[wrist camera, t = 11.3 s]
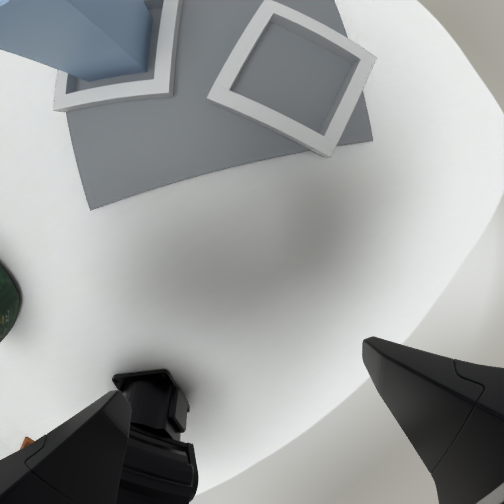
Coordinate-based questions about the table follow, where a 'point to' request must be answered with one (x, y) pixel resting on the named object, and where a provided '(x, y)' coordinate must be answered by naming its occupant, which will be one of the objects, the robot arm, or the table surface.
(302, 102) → the panel
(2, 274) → the coffee jar
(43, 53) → the plug
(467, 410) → the robot arm
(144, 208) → the table surface
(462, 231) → the table surface
